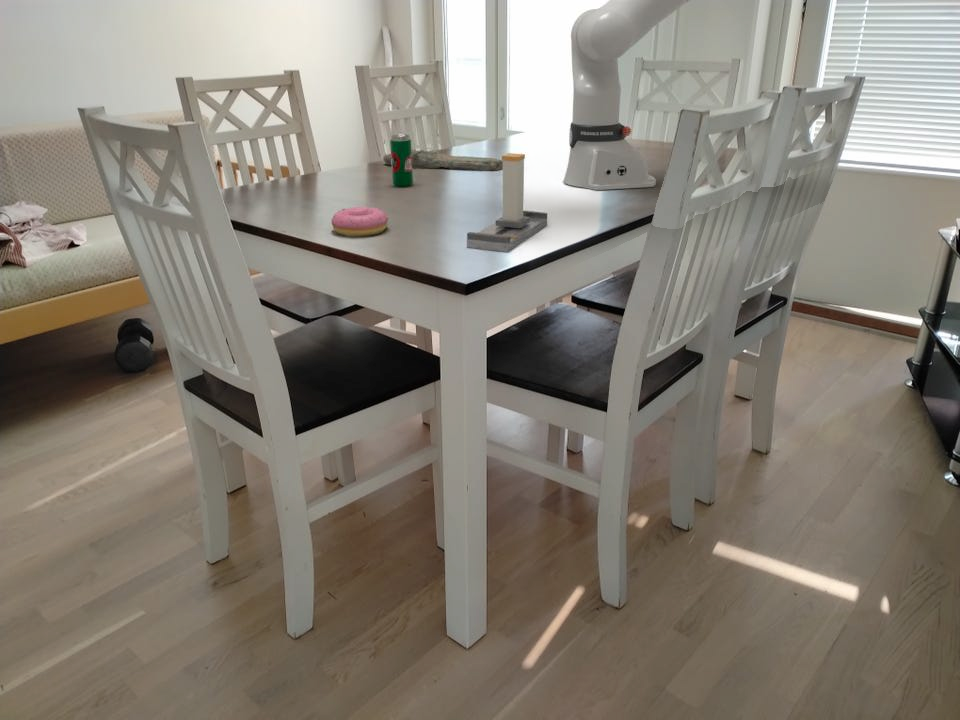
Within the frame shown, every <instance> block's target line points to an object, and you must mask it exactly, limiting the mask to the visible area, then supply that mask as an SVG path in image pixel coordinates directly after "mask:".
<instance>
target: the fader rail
mask: <svg viewBox="0 0 960 720" xmlns="http://www.w3.org/2000/svg"><path fill="white" fill-rule="evenodd" d="M523 216H526V217H530V222H529V223H528V224H526V225H525V226H523V227H521V228H512V227H503V226H496V221H495V222H494V223H492V224H491V225H489V226H486V227H485V228H483V229H481V230H480V231H479V232H474V231H473V232H472V231H469V232H467V233H466V248H470V249H480V250H488V251H496V252H504V253H509V252H510V251H512V250H514V249H515V248H516V247H518V246H519V245H520V244H522V243H524V242H525V241H527V240H528V239H529V238H531V237H532V236H534V235H535V234H537V233H538V232H539V231H541V230H543V229H544V228H545V227H546V226H548V212H545V211H543V212H542V211H533V210H524V209H523Z"/></svg>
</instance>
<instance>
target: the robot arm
mask: <svg viewBox="0 0 960 720" xmlns="http://www.w3.org/2000/svg"><path fill="white" fill-rule="evenodd" d="M689 1H690V0H608V1H607V2H606V3H604V4H603V5H601V6H600V7H599V8H594V9H593V8H592V9H589V10H586V11H584V12H582V13H581V14H580V15H579V16H578V17H577V18H576V20H575V21H574V23H573V25H572V28H571V31H570V32H571V33H570V39H571V40H570V44H571V45H570V46H571V47H570V48H571V72H572V81H573V84H572V85H573V86H572V87H573V95H572V96H573V99H572V100H573V101H572V122H571V123H570V128H569V136H568V137H569V141H568V143H569V150H570V151H569V154H568V155H569V156H568V162H567V167H566V170H565V171H566V172H565V174H564V178H563V181H562V182H563V183H564V184H566V185H569V186H573V187H579V188H586V189H590V190H595V191H603V190H605V191H606V190H620V189H638V188H653V187H655V186H656V184H657V179H656V178H655V176H653V175H650V174H648V164H647V160H646V157H645V155H643V154H642V153H641V152H640V151H639V150H638V149H637V148H636V147H635V146H634V145H632V144H631V143H630V142H629V141H628V140H627V139H626V138H627V137H628V136H631V135H630V134H632V129H631V127H629V126H627V125H623V124H621V122H620V121H619V120H620V108H621V107H620V106H621V105H620V104H621V93H622V90H621V89H622V87H621V82H620V76H619V62H618V61H619V60H618V59H619V58H621V57H622V56H623V55H625V54H626V52H628V51H629V50H630V49H631V48H632V47H634V46H635V45H636V44H637V43H638V42H639V41H640V40H642V38H644V37H645V36H646V35H647V34H649V32H650V31H651V30H652V29H653V28H654V27H656V26H657V25H658V24H659V23H661V22H663V20H665V19H666V18H667V17H669V16H670V15H672V14H673V13H674V12H676V11H678V10H679V8H681V7H683V6H684V5H685V4H687V3H688V2H689Z"/></svg>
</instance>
